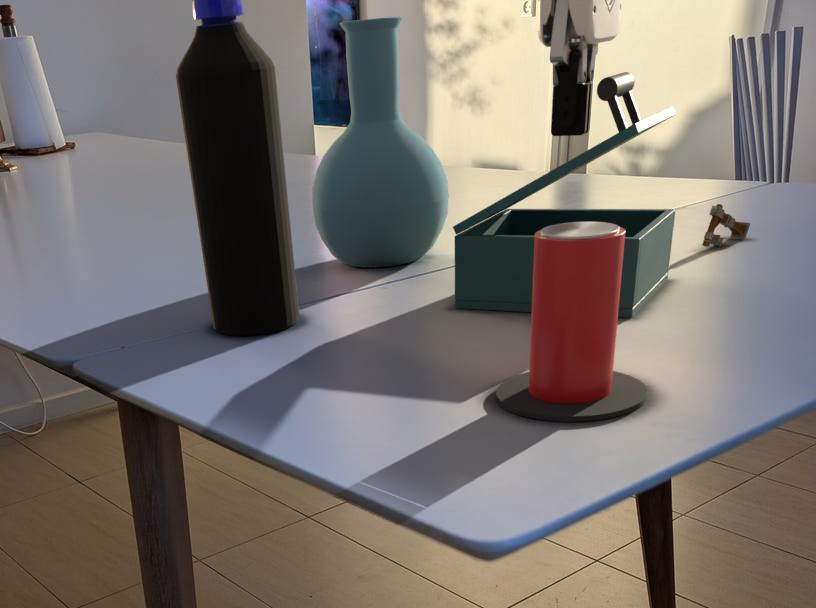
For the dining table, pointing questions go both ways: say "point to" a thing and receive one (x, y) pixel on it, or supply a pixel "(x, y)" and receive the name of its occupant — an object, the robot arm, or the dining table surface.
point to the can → (575, 311)
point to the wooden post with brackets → (727, 220)
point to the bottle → (237, 173)
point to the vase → (378, 164)
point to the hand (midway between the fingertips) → (570, 134)
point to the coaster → (619, 402)
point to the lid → (608, 92)
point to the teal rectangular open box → (514, 256)
